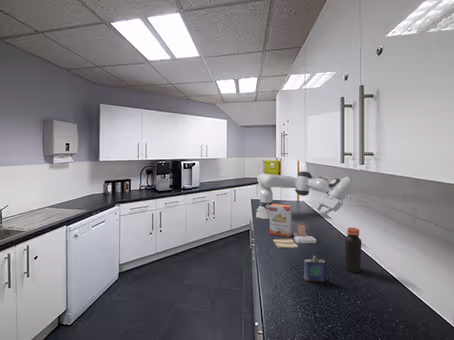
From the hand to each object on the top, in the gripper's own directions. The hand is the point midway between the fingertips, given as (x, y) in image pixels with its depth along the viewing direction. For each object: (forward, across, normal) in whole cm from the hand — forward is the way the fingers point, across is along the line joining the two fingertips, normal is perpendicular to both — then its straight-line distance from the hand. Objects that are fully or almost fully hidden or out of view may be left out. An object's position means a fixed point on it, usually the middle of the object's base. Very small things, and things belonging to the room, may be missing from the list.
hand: (321, 211), depth 147 cm
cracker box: (+31, +7, +6) cm, 32 cm away
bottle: (+16, -42, -9) cm, 46 cm away
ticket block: (+22, 0, -2) cm, 22 cm away
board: (+32, -10, +8) cm, 34 cm away
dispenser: (+22, -3, -2) cm, 22 cm away
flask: (+31, -49, +7) cm, 58 cm away
